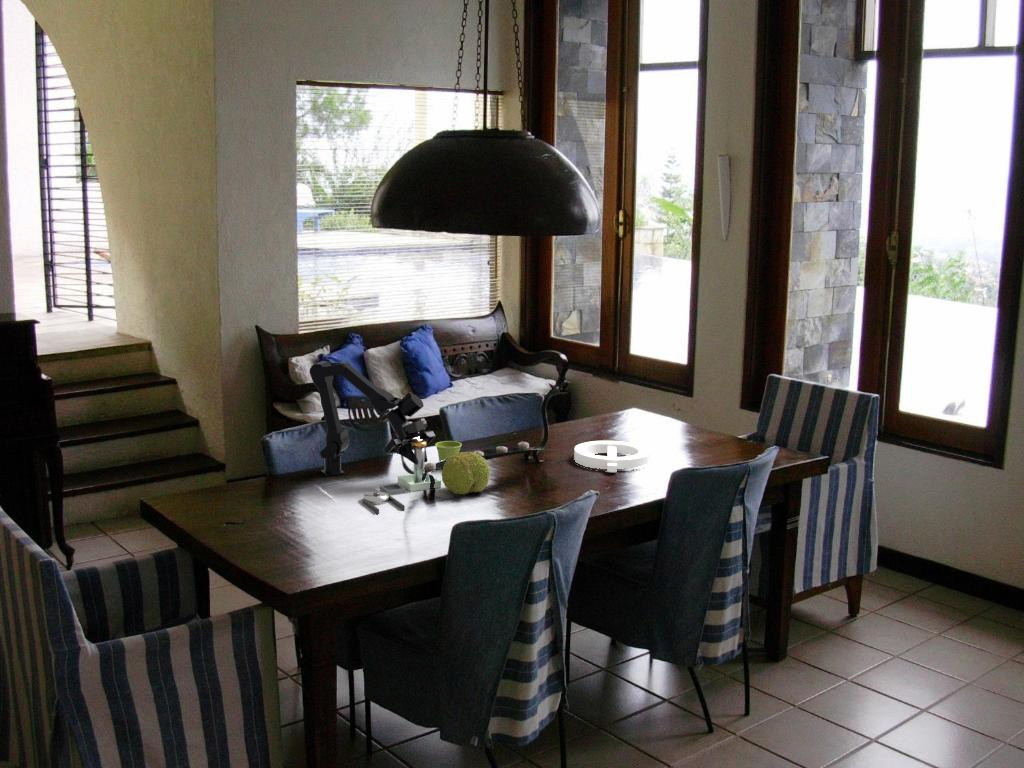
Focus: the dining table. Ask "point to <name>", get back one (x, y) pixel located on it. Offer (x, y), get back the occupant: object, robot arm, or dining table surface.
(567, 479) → the dining table surface
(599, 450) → the ring with crossbar
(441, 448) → the plant pot
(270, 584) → the dining table surface
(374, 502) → the grey forked bracket
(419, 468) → the lock pin
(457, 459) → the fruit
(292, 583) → the dining table surface
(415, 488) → the tray
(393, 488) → the tensioner base
